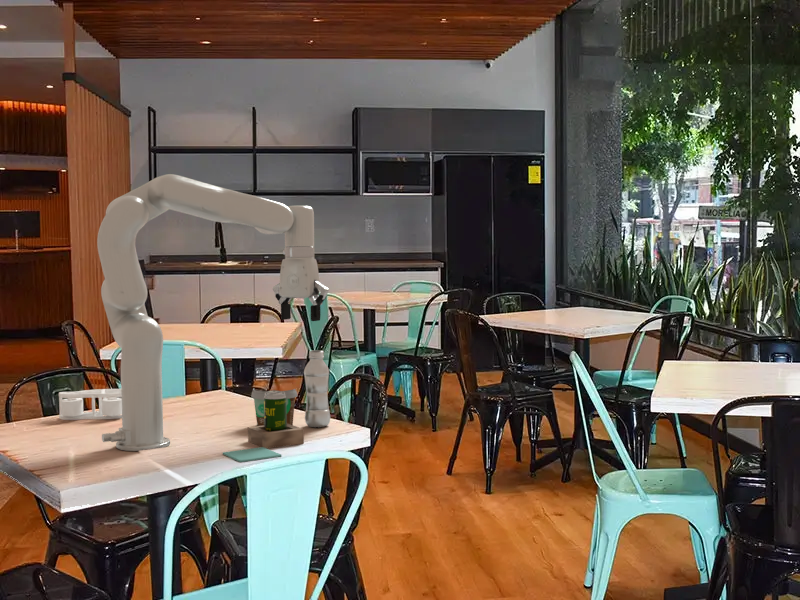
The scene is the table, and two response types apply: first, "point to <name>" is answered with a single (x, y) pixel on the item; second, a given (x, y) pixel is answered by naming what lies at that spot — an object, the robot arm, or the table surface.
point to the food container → (259, 404)
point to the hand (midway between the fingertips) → (300, 320)
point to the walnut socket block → (275, 436)
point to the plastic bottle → (317, 390)
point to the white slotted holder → (107, 405)
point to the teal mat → (251, 454)
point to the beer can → (275, 411)
